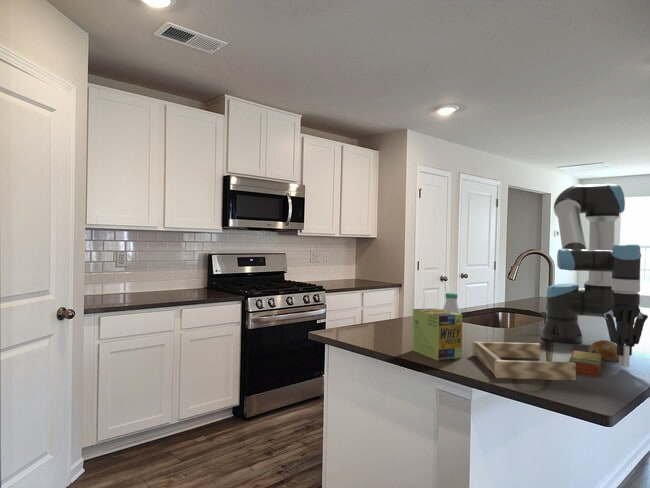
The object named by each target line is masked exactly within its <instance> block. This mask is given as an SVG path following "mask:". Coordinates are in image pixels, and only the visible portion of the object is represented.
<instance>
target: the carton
mask: <svg viewBox="0 0 650 488" xmlns="http://www.w3.org/2000/svg"><path fill="white" fill-rule="evenodd" d="M568 359H569V360H568V362H574V363H576V375H582V376H587V377H594V378H600V373H601V369H602V368H601V367H602V360H601V354H596V353H590V352H588V351H582V350H581V351H580V350H573V351H572V353H571V355H570V357H569V358H568Z"/></svg>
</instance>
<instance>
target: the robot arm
mask: <svg viewBox="0 0 650 488" xmlns="http://www.w3.org/2000/svg"><path fill="white" fill-rule="evenodd" d="M625 208H626V200H625V194H624V191H623V189H622V187H621V185H619V184H617V183H615V184H614V183H600V184H598V183H597V184H577V185H576V184H575V185H572V186H569V187H567V188H566V189H564V190H563V191H561V192H560V194H558V196H557V197H556V199H555V201H554V205H553V212H554V215H555V216H556V217H557V221H558V228H559V235H560V241H561V249H560V248H559V249H558V250H557V254H556V262H557V268H558V269H559V270H563V271H564V270H565V271H569V272H570V271H583V272H584V271H585V272H587V271H588V279H587V280H586V281H584V284H583V287H580V285H579V284H578V283H557V284H552V285H549V286H548V287H547V290H546V317H545V318H546V319H545V322H544V325H543V327H542V330H541V338H542V339H544V340H546V341H551V342H555V343H564V344H566V343H567V344H579V343H582V342H583V334H582V331H581V328H580V325H579V316H581V317H582V316H583V317H595V318H596V317H598V318H604V320H605V323H606V327H607V332H608V336H609V339H610V340H609V341H610V342H613V343H615V344H616V345H617V354H618V355H619V361H618V365H620V366H622V367H624V368H630V357H631V356H632V355H633V347H635V345H639V343H640V340H641V338H642V333H643V329H644V325H645V322H646V321H647V320H648V318H649V315H647V314H644V313H643V312H641V309H640V307H639V306H640V304H641V302H640V301H641V295H640V294H639V293H640V292H641V258H642V252H641V246H640V245H639V244H627V243H625V244H616V243H615V223H616V221H617V220H618V219H619V218H620V214H621V213H624V211H625ZM580 214H585V219H586V220H588V222H589V236H588V237H589V239H588V241H589V243H588V245H589V247H588V248H587V245H586V241H585V236H584V232H583V231H584V230H583V226H582V220H581V217H580ZM614 319H615V320H614Z"/></svg>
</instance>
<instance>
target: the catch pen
mask: <svg viewBox="0 0 650 488" xmlns="http://www.w3.org/2000/svg"><path fill="white" fill-rule="evenodd" d="M471 347H472V348H471V349H472V350H471V351H472V352H471V353H472V354H471V355H473V356H476V357H477V358H478V359H477V358H476V357H475V358H476V359H477V360H478V361H480V362H481V363H482V364H483V365H484V366H485V367H486V368H487V369H488V370H489V369H490V370H491V371H492V374H493V376H495V377H496V379H513V380H514V379H515V380H516V379H517V380H546V381H547V380H550V381H551V380H553V381H576V378H577V377H576V375H577V374H576V363H574V362H569V361H549V360H547V361H546V360H545V361H543V360H541V361H540V360H537V359H541V349H542V347H541V344H540V343H539V342H536V343H535V342H507V341H506V342H504V341H503V342H499V341H497V342H496V341H495V342H494V341H472V345H471ZM473 356H472V357H473ZM501 358H504V359H501ZM505 358H506V359H507V358H509V360H508V359H507V360H506V359H505ZM510 358H511V360H510ZM512 359H536V360H512ZM490 370H489V371H490ZM495 377H494V378H495Z"/></svg>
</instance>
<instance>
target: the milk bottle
mask: <svg viewBox="0 0 650 488" xmlns="http://www.w3.org/2000/svg"><path fill="white" fill-rule="evenodd" d="M458 298H459V297H458V293H455V292H446V293H445V304H444V306H443V308H442V310H446V311H450V312H454V313H459V314H462V313H461V309H460V307H459V305H458Z"/></svg>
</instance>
